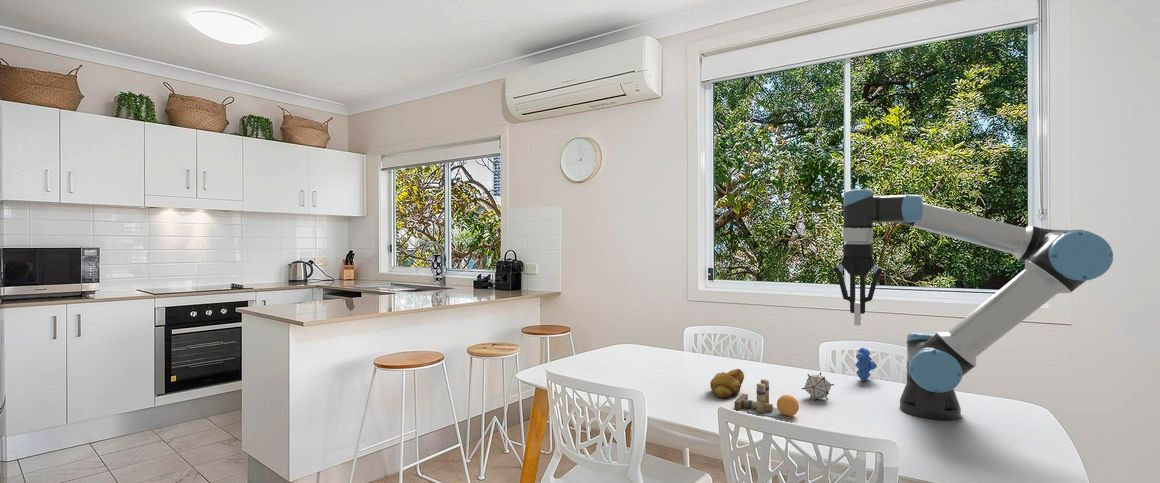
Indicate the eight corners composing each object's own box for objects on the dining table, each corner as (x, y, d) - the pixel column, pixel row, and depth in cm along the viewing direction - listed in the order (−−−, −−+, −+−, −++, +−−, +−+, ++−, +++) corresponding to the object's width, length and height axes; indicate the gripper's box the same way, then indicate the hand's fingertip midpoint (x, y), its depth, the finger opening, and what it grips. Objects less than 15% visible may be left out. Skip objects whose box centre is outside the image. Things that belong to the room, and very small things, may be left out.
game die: (823, 412, 171) (838, 392, 165) (797, 401, 173) (811, 381, 167) (823, 391, 178) (838, 372, 172) (798, 381, 180) (811, 361, 174)
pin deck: (794, 411, 161) (794, 410, 161) (789, 419, 154) (789, 419, 154) (753, 404, 167) (753, 404, 167) (746, 412, 160) (746, 411, 160)
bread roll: (731, 402, 170) (731, 377, 170) (702, 396, 176) (702, 372, 176) (746, 392, 180) (746, 368, 180) (718, 387, 186) (718, 363, 186)
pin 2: (770, 407, 164) (770, 380, 164) (768, 410, 162) (768, 382, 162) (761, 406, 166) (761, 378, 165) (759, 408, 164) (759, 380, 163)
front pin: (773, 403, 162) (744, 398, 166) (771, 404, 159) (742, 400, 164) (773, 411, 162) (744, 406, 166) (771, 413, 159) (742, 408, 164)
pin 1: (766, 412, 160) (766, 384, 160) (764, 415, 158) (764, 386, 158) (757, 411, 161) (757, 383, 161) (755, 413, 159) (755, 385, 159)
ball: (776, 406, 162) (797, 414, 159) (772, 414, 157) (794, 423, 154) (781, 388, 161) (802, 396, 158) (778, 396, 155) (799, 404, 153)
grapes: (872, 386, 185) (873, 351, 184) (851, 383, 189) (851, 349, 189) (881, 379, 193) (881, 346, 193) (860, 376, 198) (860, 343, 198)
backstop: (747, 402, 170) (747, 394, 170) (739, 410, 162) (739, 402, 162) (742, 401, 170) (742, 393, 170) (734, 409, 163) (734, 401, 163)
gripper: (884, 243, 156) (883, 324, 157) (834, 242, 163) (834, 320, 164) (883, 243, 150) (882, 328, 150) (831, 243, 156) (831, 324, 157)
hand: (857, 324), depth 157 cm, fingers closed
